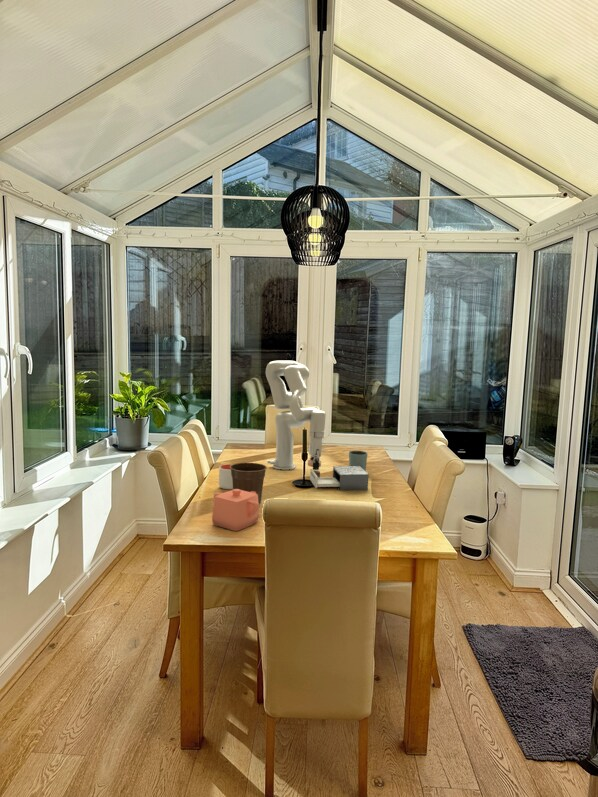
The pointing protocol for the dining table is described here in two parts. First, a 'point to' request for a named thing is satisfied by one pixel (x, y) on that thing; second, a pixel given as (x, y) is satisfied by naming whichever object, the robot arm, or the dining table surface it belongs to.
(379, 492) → the dining table surface
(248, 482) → the plant pot
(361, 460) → the grey green tumbler
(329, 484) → the white drawer
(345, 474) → the housing
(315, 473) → the walnut block
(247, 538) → the dining table surface
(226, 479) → the cup
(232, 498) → the teapot
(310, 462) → the pink domed disc
